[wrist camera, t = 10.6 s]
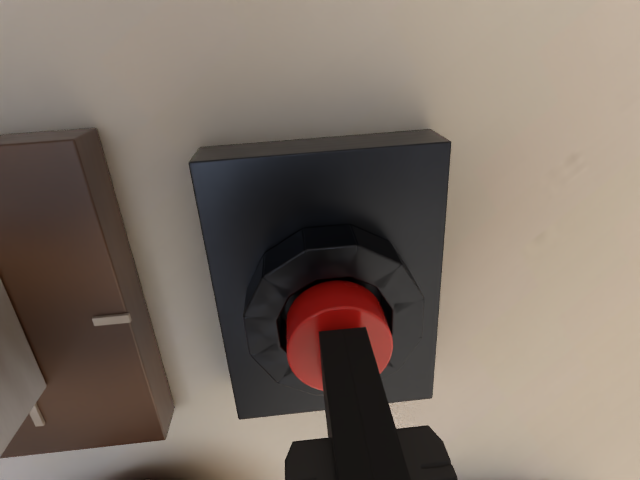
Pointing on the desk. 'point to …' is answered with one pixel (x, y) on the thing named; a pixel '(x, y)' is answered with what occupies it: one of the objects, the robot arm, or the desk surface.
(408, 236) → the button block
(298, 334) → the button
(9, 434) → the tap handle
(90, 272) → the panel
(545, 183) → the desk surface
